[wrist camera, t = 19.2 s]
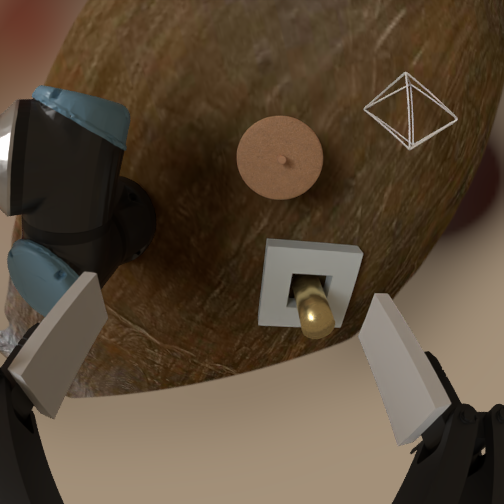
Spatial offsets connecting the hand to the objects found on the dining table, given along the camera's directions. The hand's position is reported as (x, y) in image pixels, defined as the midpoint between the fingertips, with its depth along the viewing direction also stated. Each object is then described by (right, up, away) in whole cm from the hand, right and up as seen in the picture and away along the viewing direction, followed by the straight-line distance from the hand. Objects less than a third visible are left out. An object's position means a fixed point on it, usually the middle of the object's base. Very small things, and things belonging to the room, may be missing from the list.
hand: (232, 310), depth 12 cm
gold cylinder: (+10, -3, +37) cm, 38 cm away
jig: (+11, -3, +37) cm, 38 cm away
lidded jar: (+4, +17, +27) cm, 32 cm away
